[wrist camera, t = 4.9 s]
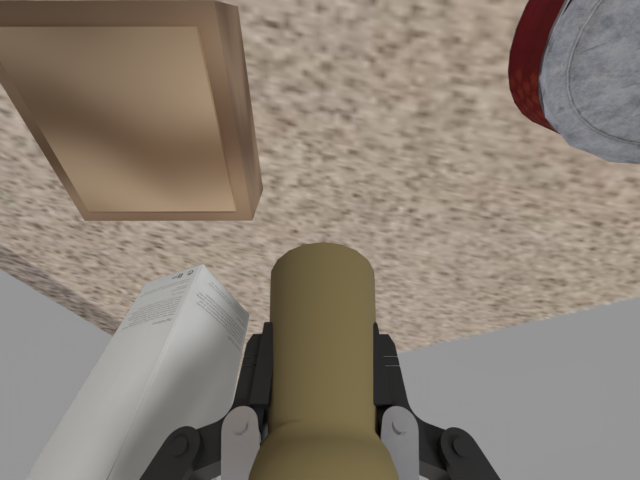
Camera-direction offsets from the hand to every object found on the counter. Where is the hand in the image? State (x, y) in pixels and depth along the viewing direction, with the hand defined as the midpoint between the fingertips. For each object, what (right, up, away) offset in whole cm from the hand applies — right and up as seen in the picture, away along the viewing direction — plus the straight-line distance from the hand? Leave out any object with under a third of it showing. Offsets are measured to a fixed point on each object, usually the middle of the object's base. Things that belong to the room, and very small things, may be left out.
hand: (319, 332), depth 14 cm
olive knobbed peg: (0, +2, +3) cm, 4 cm away
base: (-9, +12, +3) cm, 15 cm away
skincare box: (-11, -1, +14) cm, 18 cm away
